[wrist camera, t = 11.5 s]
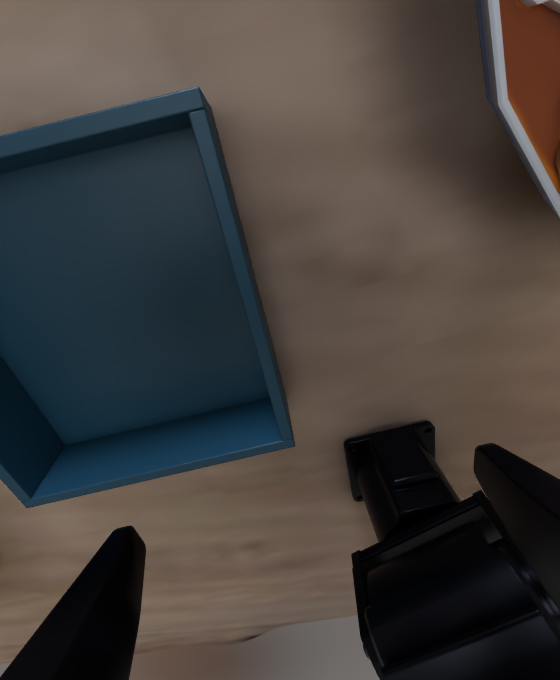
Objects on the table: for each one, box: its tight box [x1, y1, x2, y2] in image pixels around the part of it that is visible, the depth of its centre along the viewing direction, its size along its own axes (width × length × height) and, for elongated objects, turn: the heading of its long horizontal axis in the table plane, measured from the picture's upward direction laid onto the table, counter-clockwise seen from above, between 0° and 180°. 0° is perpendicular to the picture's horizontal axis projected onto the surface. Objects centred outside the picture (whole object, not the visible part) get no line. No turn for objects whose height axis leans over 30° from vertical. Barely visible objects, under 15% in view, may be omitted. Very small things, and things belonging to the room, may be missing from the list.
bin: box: [0, 87, 295, 508], centre depth 17 cm, size 16×15×4 cm
